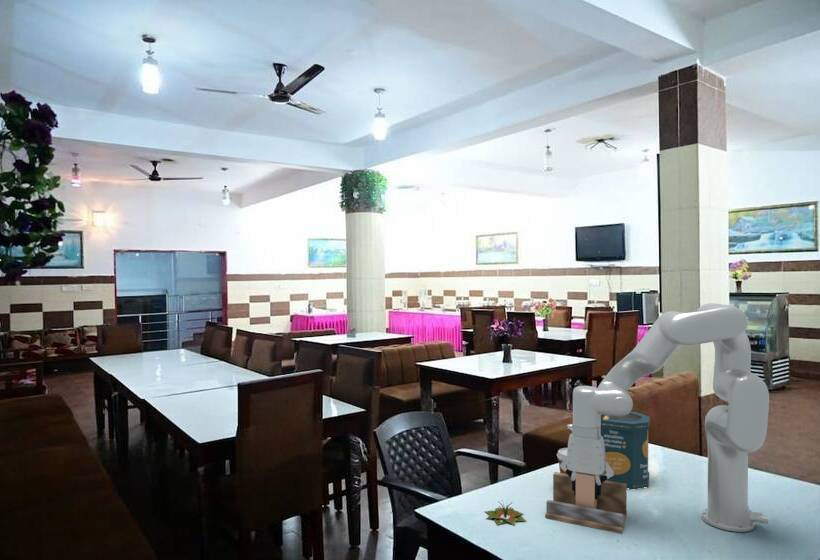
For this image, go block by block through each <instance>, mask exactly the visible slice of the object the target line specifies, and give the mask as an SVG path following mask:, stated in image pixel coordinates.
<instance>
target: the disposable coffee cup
mask: <svg viewBox="0 0 820 560" xmlns="http://www.w3.org/2000/svg"><path fill="white" fill-rule="evenodd" d="M567 450H568V447H563V448H559V450H557V453H556V456H557V460H558V467H559V473H565V474H567V473H566V472H565V471H564V470H563V469H562V468H561V467H560V464H561V463H562V462H563V461H564V460H565V459H566V458H567Z"/></svg>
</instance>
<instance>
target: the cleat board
mask: <svg viewBox="0 0 820 560" xmlns="http://www.w3.org/2000/svg"><path fill="white" fill-rule="evenodd" d="M552 479H553V480H552V484H553V485H552V486H553V487H552V489H553V490H552V500H550V499H547V500H546V508H545V509H546V512H545V516H544V518H545V519H548V520H553V521H558V522H564V523H568V524H572V525H573V524H574V525H578V526H582V527H586V528H592V529H596V530H603V531H607V532H611V531H612V533H618V534H621V535H622V534H623V531H624V527H625V523H626V518H627V515H628V510H627V504H628V503H627V484H625V483H619V482H613V481H607V480H606V481H604V482H603V483H602V484H601V495H600V496H598V499H597V507H596V509H594V508H589V507H584V506H578V505H576V495H574V491H572V480H571V478H570V477H569V476H568V475H567V474H565V473H560V472H557V471H554V472H553V475H552Z"/></svg>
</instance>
